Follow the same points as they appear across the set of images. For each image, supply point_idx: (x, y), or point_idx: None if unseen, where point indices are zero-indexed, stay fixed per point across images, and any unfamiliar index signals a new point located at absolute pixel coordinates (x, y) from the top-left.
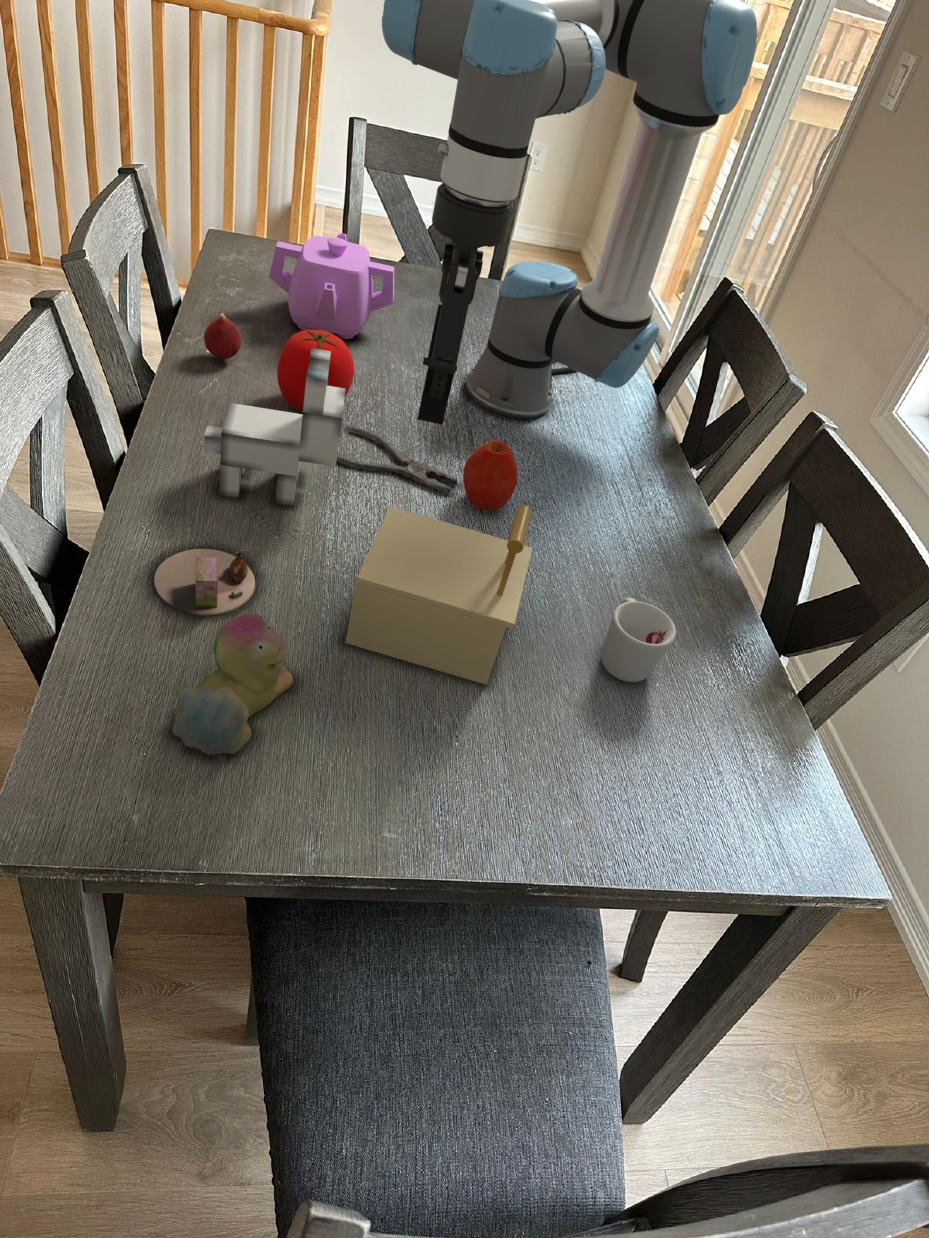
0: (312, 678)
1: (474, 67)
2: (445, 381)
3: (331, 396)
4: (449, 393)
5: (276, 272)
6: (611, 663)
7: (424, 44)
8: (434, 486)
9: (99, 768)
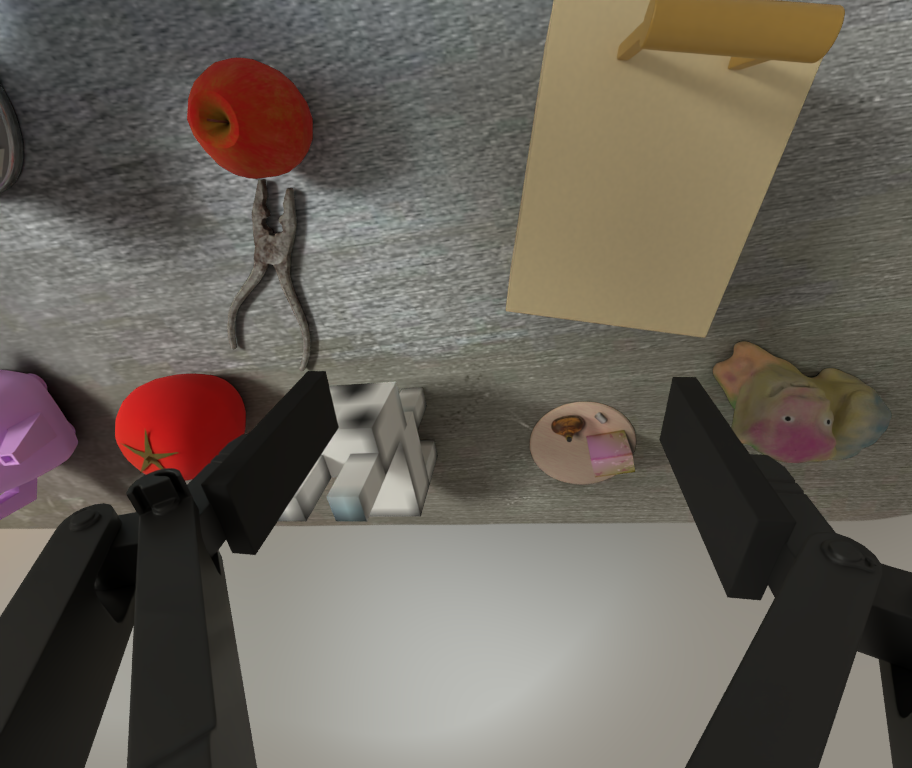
0: (731, 320)
1: None
2: (817, 517)
3: None
4: (742, 444)
5: (22, 498)
6: None
7: None
8: (294, 216)
9: (853, 474)
